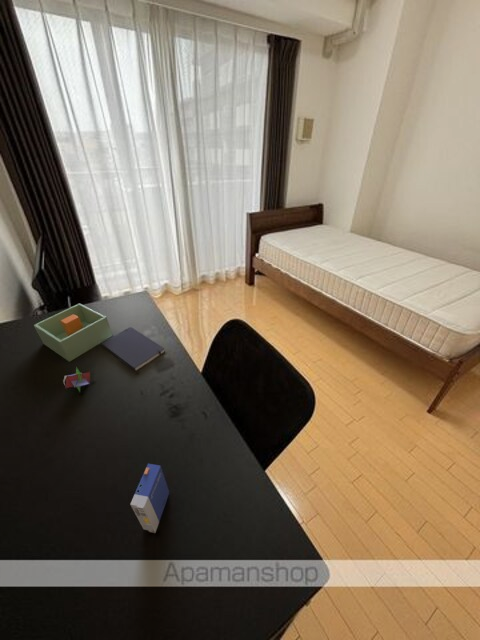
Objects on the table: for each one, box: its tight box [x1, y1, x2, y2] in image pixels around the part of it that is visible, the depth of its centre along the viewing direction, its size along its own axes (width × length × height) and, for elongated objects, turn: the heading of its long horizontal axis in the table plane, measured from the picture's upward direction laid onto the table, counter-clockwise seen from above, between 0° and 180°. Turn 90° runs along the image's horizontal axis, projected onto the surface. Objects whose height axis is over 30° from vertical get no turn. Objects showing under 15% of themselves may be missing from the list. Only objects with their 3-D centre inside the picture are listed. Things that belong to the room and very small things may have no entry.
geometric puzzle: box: [62, 366, 91, 393], centre depth 87 cm, size 7×7×8 cm
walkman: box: [130, 463, 170, 534], centre depth 57 cm, size 8×3×12 cm, turn 170°
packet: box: [61, 314, 83, 336], centre depth 105 cm, size 4×5×9 cm
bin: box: [33, 303, 114, 362], centre depth 106 cm, size 18×18×9 cm
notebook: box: [100, 326, 166, 372], centre depth 103 cm, size 13×2×21 cm
